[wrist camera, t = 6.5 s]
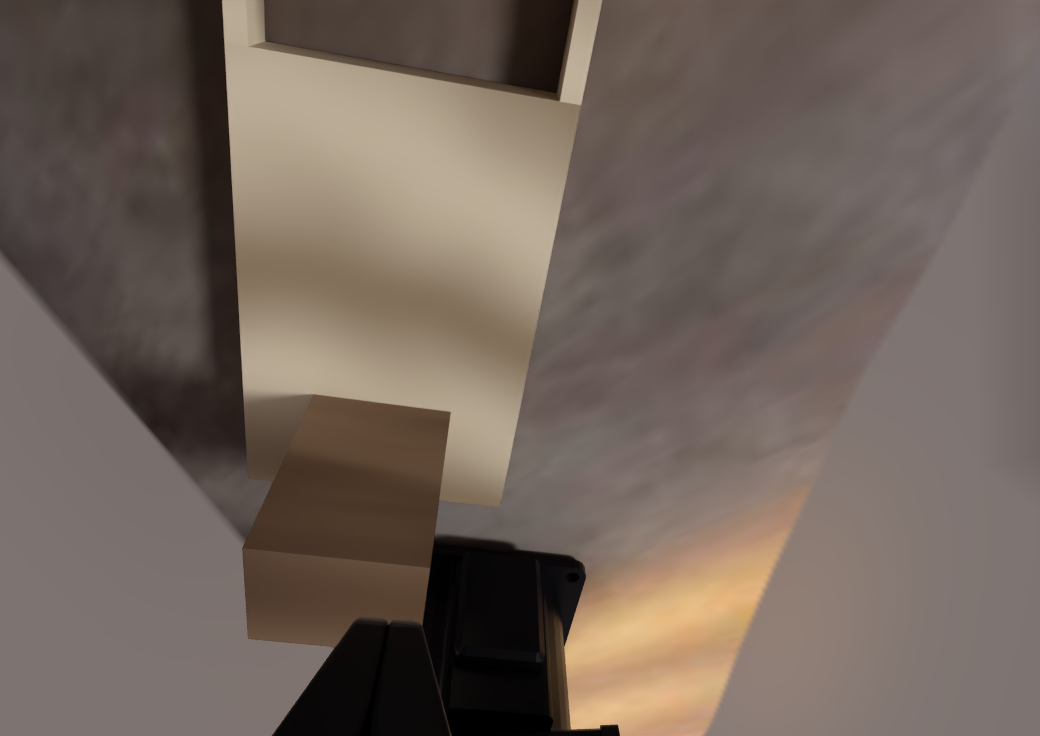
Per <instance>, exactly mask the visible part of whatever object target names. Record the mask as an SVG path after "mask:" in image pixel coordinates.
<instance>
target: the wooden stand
mask: <svg viewBox="0 0 1040 736" xmlns="http://www.w3.org/2000/svg"><path fill="white" fill-rule="evenodd" d="M601 4H602V0H574V1H573V7H572V12H571V18H570V23H569V28H568V34H567V39H566V45H565V50H564V56H563V61H562V67H561V72H560V78H559V83H558V89H557V93H552V92H547V91H541V90H536V89H530V88H524V87H519V86H513V85H507V84H502V83H496V82H491V81H485V80H479V79H474V78H468V77H462V76H457V75H451V74H446V73H440V72H434V71H429V70H423V69H417V68H412V67H406V66H401V65H395V64H389V63H384V62H378V61H372V60H367V59H361V58H356V57H350V56H344V55H339V54H333V53H327V52H322V51H316V50H311V49H305V48H299V47H294V46H288V45H282V44H277V43H271V42H266V41H265V21H264V0H222V6H223V25H224V43H225V62H226V81H227V99H228V118H229V136H230V155H231V174H232V192H233V211H234V229H235V248H236V267H237V285H238V304H239V322H240V341H241V360H242V378H243V397H244V415H245V434H246V453H247V471H248V478H251V479H259V480H268V481H273V483H272V485H271V487H270V490H269V492H268V494H267V496H266V498H265V500H264V503H263V505H262V507H261V509H260V511H259V513H258V516H257V518H256V520H255V522H254V524H253V526H252V528H251V531H250V533H249V535H248V537H247V539H246V541H245V544H244V546H243V548H242V550H243V566H244V581H245V597H246V613H247V629H248V639H255V640H266V641H277V642H289V643H299V644H309V645H320V646H331V647H336V645H337V644H338V643H339V641H340V640H341V638H342V637H343V636H344V634H345V633H346V631H347V630H348V629H349V627H350V626H351V624H352V623H353V622H354V621H355V620H356V619H358V618H360V617H366V618H379V619H385V620H387V621H388V624H390V622H391V621H393V620H404V621H416V622H419V623H420V624H421V625H422V623H423V616H424V609H425V602H426V594H427V587H428V580H429V573H430V565H431V558H432V550H433V543H434V535H435V528H436V520H437V513H438V505H439V500H441V501H449V502H458V503H467V504H475V505H484V506H492V507H500V505H501V500H502V495H503V490H504V485H505V480H506V475H507V470H508V465H509V460H510V455H511V450H512V445H513V440H514V435H515V430H516V425H517V421H518V416H519V411H520V406H521V401H522V396H523V391H524V386H525V381H526V376H527V371H528V366H529V361H530V356H531V351H532V346H533V341H534V336H535V331H536V326H537V321H538V316H539V311H540V307H541V302H542V297H543V292H544V287H545V282H546V277H547V272H548V267H549V262H550V257H551V252H552V247H553V242H554V237H555V232H556V227H557V222H558V217H559V212H560V207H561V202H562V197H563V193H564V188H565V183H566V178H567V173H568V168H569V163H570V158H571V153H572V148H573V143H574V138H575V133H576V128H577V123H578V118H579V113H580V108H581V103H582V98H583V93H584V88H585V83H586V79H587V74H588V69H589V64H590V59H591V54H592V49H593V44H594V39H595V34H596V29H597V24H598V19H599V14H600V9H601Z"/></svg>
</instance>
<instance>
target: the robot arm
mask: <svg viewBox="0 0 1040 736" xmlns="http://www.w3.org/2000/svg"><path fill="white" fill-rule="evenodd" d="M569 573H574V574H569ZM585 579H586V574H585V567H584V565H583V563H581V562H580V561H577V560H571V559H562V558H553V557H544V556H535V555H526V554H516V553H507V552H498V551H489V550H480V549H471V548H462V547H452V546H443V545H434V544H433V550H432V558H431V565H430V573H429V580H428V587H427V594H426V602H425V609H424V616H423V623H422V625H421V624H420V623H419V622H416V621H404V620H393V621H391V622H390V624H388V621H387V620H385V619H379V618H366V617H360V618H358V619H356V620H355V621H354V622H353V623H352V624H351V626H350V627H349V629H348V630H347V631H346V633H345V634H344V636H343V637H342V638H341V640H340V641H339V643H338V644H337V645H336V647H335V648H334V650H333V651H332V652H331V654H330V655H329V657H328V658H327V659H326V661H325V662H324V664H323V665H322V666H321V668H320V669H319V671H318V672H317V673H316V675H315V676H314V678H313V679H312V680H311V682H310V683H309V685H308V686H307V688H306V689H305V690H304V692H303V693H302V694H301V696H300V697H299V699H298V700H297V701H296V703H295V704H294V706H293V707H292V708H291V710H290V711H289V713H288V714H287V715H286V717H285V718H284V720H283V721H282V722H281V724H280V725H279V727H278V728H277V729H276V731H275V732H274V734H273V735H272V736H620V733H619V728H618V725H600V729H576V730H571V726H570V714H569V701H568V689H567V677H566V664H565V652H564V646H565V643H566V640H567V637H568V634H569V630H570V627H571V624H572V621H573V618H574V614H575V611H576V608H577V605H578V601H579V598H580V595H581V592H582V589H583V585H584V582H585Z"/></svg>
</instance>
